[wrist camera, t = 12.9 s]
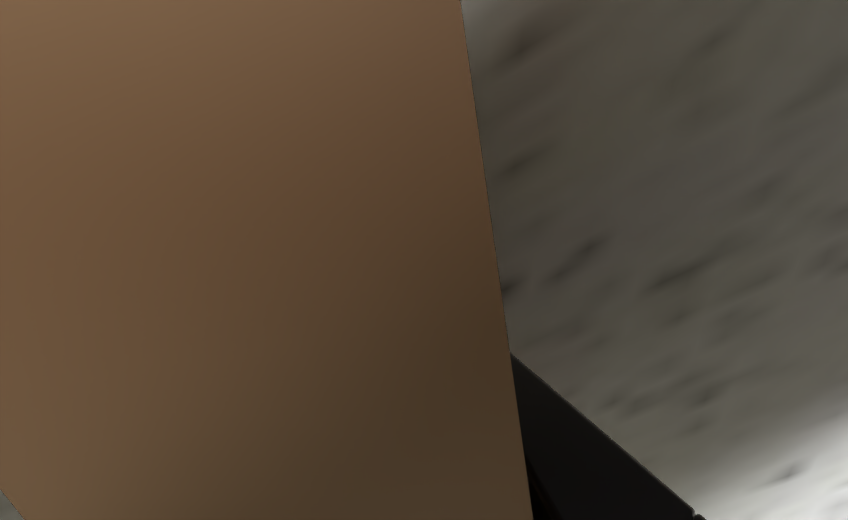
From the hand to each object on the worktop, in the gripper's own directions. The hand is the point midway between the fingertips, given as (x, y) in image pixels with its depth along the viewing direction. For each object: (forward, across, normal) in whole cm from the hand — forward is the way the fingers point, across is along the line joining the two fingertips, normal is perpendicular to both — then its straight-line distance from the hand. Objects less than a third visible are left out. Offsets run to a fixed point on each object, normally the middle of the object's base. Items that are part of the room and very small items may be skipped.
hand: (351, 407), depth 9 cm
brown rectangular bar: (+1, 0, -5) cm, 5 cm away
